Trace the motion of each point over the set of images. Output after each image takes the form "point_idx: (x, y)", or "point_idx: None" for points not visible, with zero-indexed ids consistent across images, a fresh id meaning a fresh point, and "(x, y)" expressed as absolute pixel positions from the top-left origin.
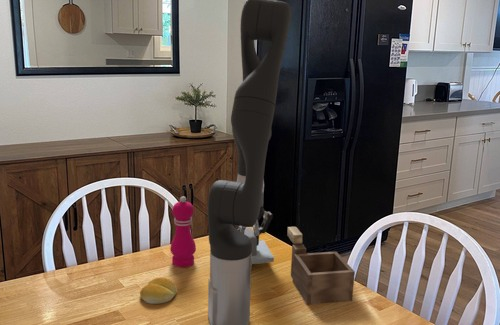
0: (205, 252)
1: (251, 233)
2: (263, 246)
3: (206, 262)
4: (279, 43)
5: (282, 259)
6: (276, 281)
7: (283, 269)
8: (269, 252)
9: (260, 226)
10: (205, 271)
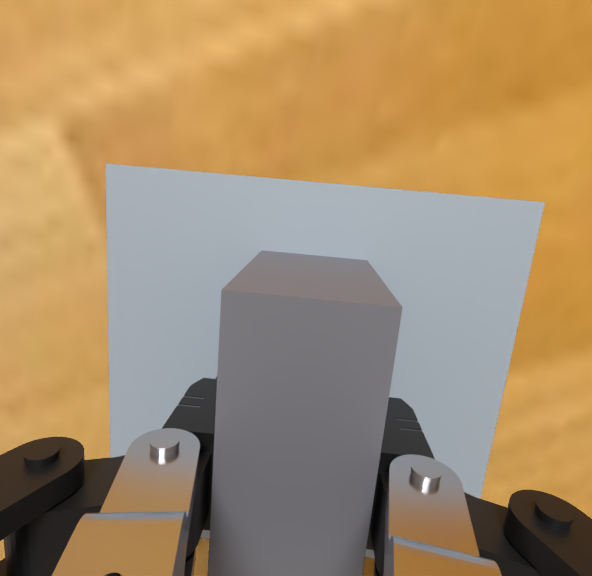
0: (30, 53)
1: (332, 507)
2: (471, 350)
3: (26, 237)
4: None
5: (583, 319)
6: None
7: (513, 457)
8: (471, 477)
9: (543, 547)
10: (12, 363)
